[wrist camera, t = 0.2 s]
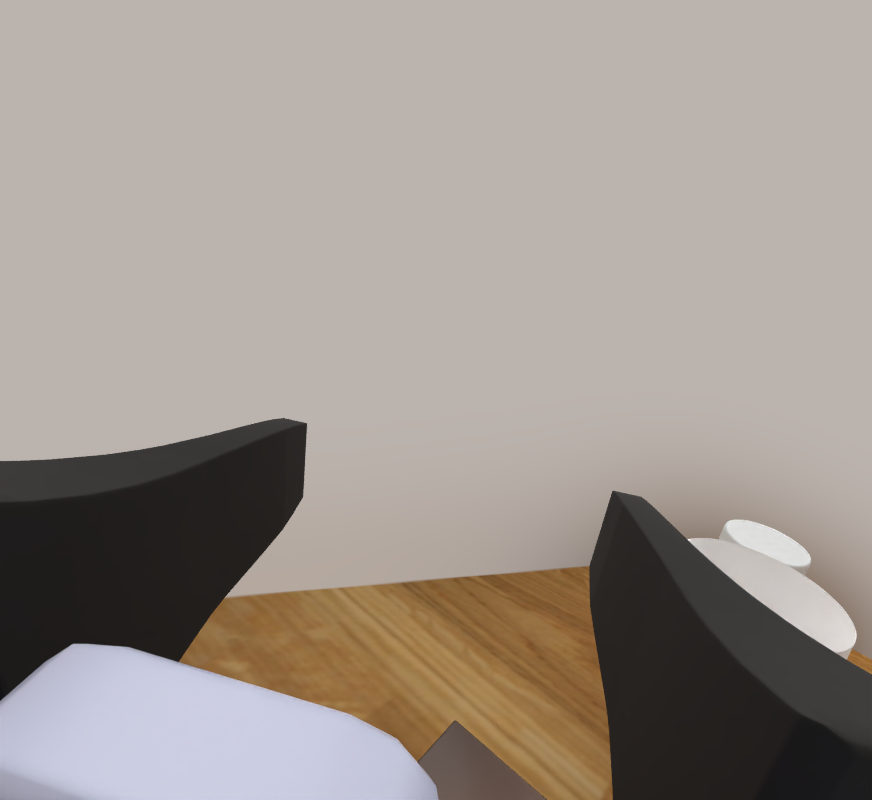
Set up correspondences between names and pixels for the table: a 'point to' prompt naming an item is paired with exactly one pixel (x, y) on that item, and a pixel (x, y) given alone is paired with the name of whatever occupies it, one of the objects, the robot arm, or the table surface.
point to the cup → (784, 592)
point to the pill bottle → (767, 543)
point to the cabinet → (472, 770)
